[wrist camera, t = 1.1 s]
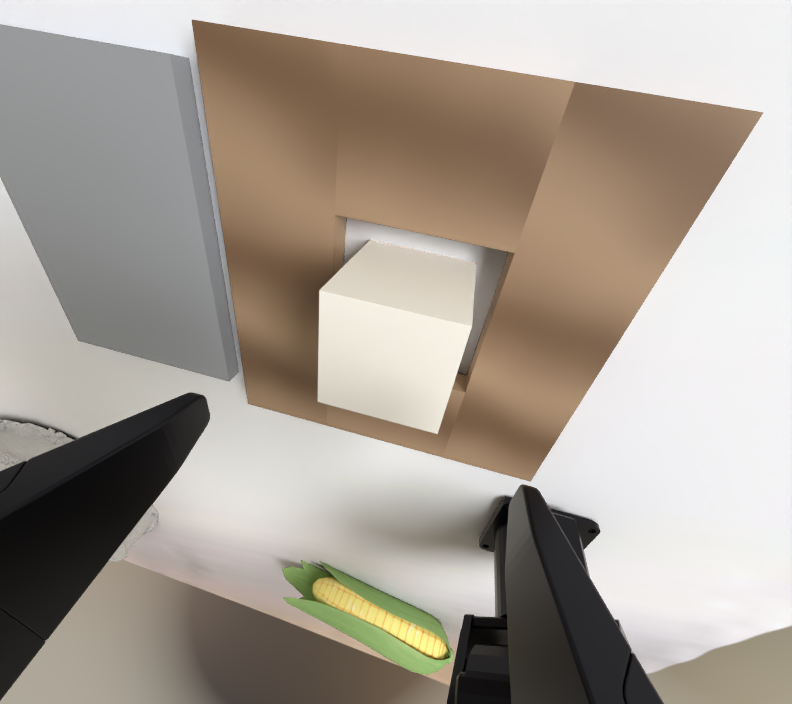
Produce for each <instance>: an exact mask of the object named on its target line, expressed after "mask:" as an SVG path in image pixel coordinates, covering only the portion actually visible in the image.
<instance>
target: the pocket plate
mask: <svg viewBox="0 0 792 704" xmlns="http://www.w3.org/2000/svg"><path fill="white" fill-rule="evenodd" d="M192 26H193V32H194V39H195V46H196V53H197V60H198V66H199V73H200V80H201V87H202V94H203V100H204V107H205V114H206V121H207V128H208V134H209V141H210V148H211V155H212V162H213V168H214V175H215V182H216V189H217V196H218V202H219V209H220V216H221V223H222V229H223V236H224V243H225V250H226V257H227V263H228V270H229V277H230V284H231V291H232V297H233V304H234V311H235V318H236V325H237V331H238V338H239V345H240V352H241V359H242V365H243V372H244V379H245V386H246V393H247V399H248V404H251V405H254V406H258V407H262V408H265V409H269V410H273V411H276V412H280V413H284V414H287V415H291V416H294V417H298V418H302V419H305V420H309V421H313V422H316V423H320V424H323V425H327V426H331V427H334V428H338V429H342V430H345V431H349V432H353V433H356V434H360V435H363V436H367V437H371V438H374V439H378V440H382V441H385V442H389V443H393V444H396V445H400V446H403V447H407V448H411V449H414V450H418V451H422V452H425V453H429V454H432V455H436V456H440V457H443V458H447V459H451V460H454V461H458V462H462V463H465V464H469V465H472V466H476V467H480V468H483V469H487V470H491V471H494V472H498V473H502V474H505V475H509V476H512V477H516V478H520V479H523V480H527V481H531V480H532V478H533V477H534V475H535V473H536V472H537V470H538V469H539V467H540V465H541V464H542V462H543V461H544V459H545V458H546V456H547V454H548V453H549V451H550V450H551V448H552V446H553V445H554V443H555V442H556V440H557V439H558V437H559V435H560V434H561V432H562V431H563V429H564V427H565V426H566V424H567V423H568V421H569V420H570V418H571V416H572V415H573V413H574V412H575V410H576V408H577V407H578V405H579V404H580V402H581V400H582V399H583V397H584V396H585V394H586V393H587V391H588V389H589V388H590V386H591V385H592V383H593V381H594V380H595V378H596V377H597V375H598V374H599V372H600V370H601V369H602V367H603V366H604V364H605V362H606V361H607V359H608V358H609V356H610V355H611V353H612V351H613V350H614V348H615V347H616V345H617V343H618V342H619V340H620V339H621V337H622V336H623V334H624V332H625V331H626V329H627V328H628V326H629V324H630V323H631V321H632V320H633V318H634V317H635V315H636V313H637V312H638V310H639V309H640V307H641V305H642V304H643V302H644V301H645V299H646V298H647V296H648V294H649V293H650V291H651V290H652V288H653V286H654V285H655V283H656V282H657V280H658V279H659V277H660V275H661V274H662V272H663V271H664V269H665V267H666V266H667V264H668V263H669V261H670V260H671V258H672V256H673V255H674V253H675V252H676V250H677V248H678V247H679V245H680V244H681V242H682V240H683V239H684V237H685V236H686V234H687V233H688V231H689V229H690V228H691V226H692V225H693V223H694V221H695V220H696V218H697V217H698V215H699V214H700V212H701V210H702V209H703V207H704V206H705V204H706V202H707V201H708V199H709V198H710V196H711V195H712V193H713V191H714V190H715V188H716V187H717V185H718V183H719V182H720V180H721V179H722V177H723V176H724V174H725V172H726V171H727V169H728V168H729V166H730V164H731V163H732V161H733V160H734V158H735V157H736V155H737V153H738V152H739V150H740V149H741V147H742V145H743V144H744V142H745V141H746V139H747V138H748V136H749V134H750V133H751V131H752V130H753V128H754V126H755V125H756V123H757V122H758V120H759V119H760V117H761V115H762V114H763V112H757V111H751V110H744V109H738V108H732V107H726V106H720V105H714V104H708V103H701V102H695V101H689V100H683V99H677V98H671V97H664V96H658V95H652V94H646V93H640V92H634V91H628V90H621V89H615V88H609V87H603V86H597V85H591V84H585V83H578V82H572V81H566V80H560V79H554V78H548V77H541V76H535V75H529V74H523V73H517V72H511V71H505V70H498V69H492V68H486V67H480V66H474V65H468V64H461V63H455V62H449V61H443V60H437V59H431V58H425V57H418V56H412V55H406V54H400V53H394V52H388V51H382V50H375V49H369V48H363V47H357V46H351V45H345V44H338V43H332V42H326V41H320V40H314V39H308V38H302V37H295V36H289V35H283V34H277V33H271V32H265V31H259V30H252V29H246V28H240V27H234V26H228V25H222V24H215V23H209V22H203V21H197V20H192ZM346 217H347V218H352V219H357V220H362V221H366V222H371V223H376V224H380V225H385V226H390V227H394V228H399V229H404V230H409V231H413V232H418V233H423V234H427V235H432V236H437V237H441V238H446V239H451V240H455V241H460V242H465V243H470V244H474V245H479V246H484V247H488V248H493V249H498V250H502V251H507V252H509V253H508V256H507V259H506V262H505V265H504V268H503V271H502V274H501V277H500V280H499V282H498V285H497V288H496V291H495V294H494V297H493V300H492V303H491V306H490V309H489V312H488V314H487V317H486V320H485V323H484V326H483V329H482V332H481V335H480V338H479V341H478V344H477V347H476V349H475V352H474V355H473V358H472V361H471V364H470V367H469V370H468V373H467V375H463V374H459V373H457V375H456V378H455V381H454V384H453V387H452V391H451V394H450V397H449V400H448V403H447V406H446V409H445V412H444V416H443V419H442V422H441V425H440V428H439V431H438V434H435V433H431V432H428V431H424V430H420V429H417V428H413V427H409V426H405V425H402V424H398V423H394V422H391V421H387V420H383V419H379V418H376V417H372V416H368V415H365V414H361V413H357V412H354V411H350V410H346V409H342V408H339V407H335V406H331V405H328V404H324V403H320V402H318V343H319V290H320V289H321V288H322V287H323V286H324V285H325V284H326V283H327V282H328V281H329V280H330V279H331V278H332V277H333V276H334V275H335V274H336V273H337V272H338V271H339V270H340V269H341V268H342V267H343V266H344V249H345V231H346Z"/></svg>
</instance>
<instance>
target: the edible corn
mask: <svg viewBox="0 0 792 704" xmlns="http://www.w3.org/2000/svg"><path fill="white" fill-rule="evenodd" d="M301 562H302V566H303V569H302V568H297V567H288V568H283V569H282V571H283V573H284V576H285V578H286V580H287V581H288V582H290V583H291V584H292V585H293V586H294V587H295V588H296V589H297V590H298V591H299V592H300V593H301V594H302V595H303V596H304V597H302V598H300V599H297V598H284V597H283V598H284V599H285V600H286V602H287V603H288V604H290V605H292V606H294V607H296V608H298V609H300V610H302V611H304V612H306V613H307V614H309V615H311V616H313V617H315V618H317V619H319V620H321V621H323V622H325V623H327V624H329V625H331V626H332V627H334V628H336V629H338V630H340V631H341V632H343V633H345V634H347V635H349V636H350V637H352V638H354V639H356V640H358V641H359V642H361V643H363V644H365V645H367V646H368V647H370V648H371V649H373V650H375V651H376V652H378V653H380V654H381V655H383V656H385V657H386V658H388V659H389V660H391V661H393V662H395V663H397V664H398V665H400V666H402V667H404V668H405V669H407V670H409V671H412V672H416V673H421V674H426V675H429V674H431V673H434V672H437V671H438V670H439V669H441V668H442V667H443V666H444V665H445V664H446V663H448V664H450V663H451V662H452V660H453V656H454V652H453V650H452V649H451V648H450V647H449V642H448V638H447V635H446V633H445V631H444V629H443V627H442V625H441V623H440V622H439V621H438V620H437V619H436V618H435V617H433V616H432V615H430V614H428V613H426V612H424V611H422V610H420V609H418V608H416V607H414V606H412V605H409V604H407V603H405V602H403V601H401V600H399V599H397V598H394V597H392V596H390V595H388V594H386V593H384V592H382V591H380V590H378V589H375V588H373V587H371V586H369V585H367V584H365V583H363V582H361V581H359V580H357V579H355V578H353V577H351V576H349V575H346V574H344V573H342V572H340V571H338V570H336V569H334V568H332V567H330V566H328V565H326V564H324V563H322V562H321V564H322V565H323V566H324V567H325V568H324V567H322V566H320V567H322V568H324V569H326V570H327V571H329V572H330V573H331V574H332V575H331V574H329V573H327V572H325V571H323V570H321V569H319V568H317V567H314V566H312V565H310V564H308V563H306V562H304V561H302V560H301Z"/></svg>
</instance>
